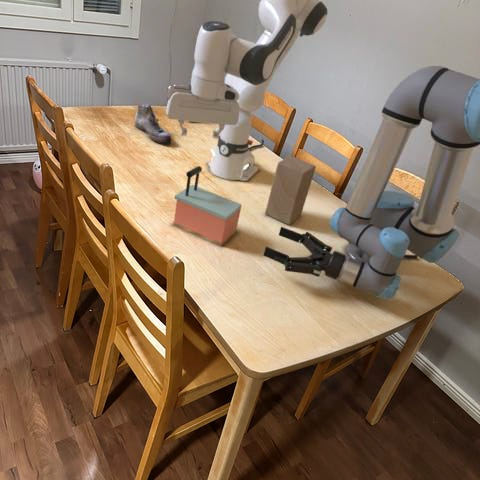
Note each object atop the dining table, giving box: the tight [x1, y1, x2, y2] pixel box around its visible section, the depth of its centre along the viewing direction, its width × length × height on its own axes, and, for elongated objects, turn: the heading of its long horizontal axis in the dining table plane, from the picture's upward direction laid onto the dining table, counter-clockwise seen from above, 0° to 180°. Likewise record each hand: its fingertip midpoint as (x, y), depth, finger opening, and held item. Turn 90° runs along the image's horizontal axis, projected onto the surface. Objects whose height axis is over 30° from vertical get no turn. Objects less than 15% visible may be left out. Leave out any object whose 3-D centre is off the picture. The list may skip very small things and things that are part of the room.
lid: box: [174, 165, 243, 220], centre depth 133 cm, size 18×10×9 cm, turn 64°
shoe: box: [134, 102, 172, 145], centre depth 194 cm, size 25×11×12 cm, turn 30°
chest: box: [173, 200, 242, 247], centre depth 138 cm, size 17×10×9 cm, turn 64°
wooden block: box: [264, 155, 317, 226], centre depth 152 cm, size 10×10×20 cm
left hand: (199, 136), depth 127 cm, fingers open, 8 cm apart
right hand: (272, 240), depth 129 cm, fingers open, 13 cm apart
